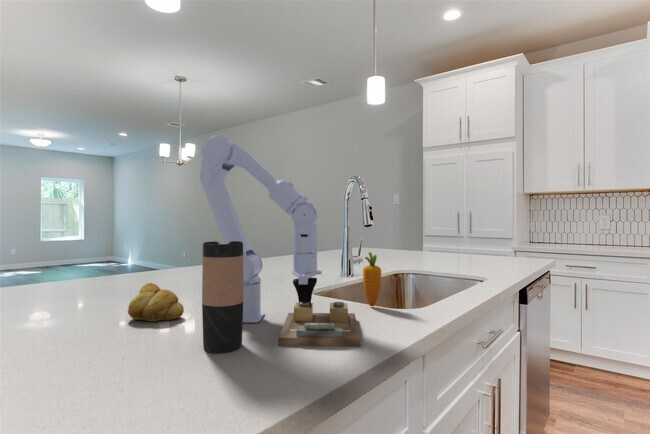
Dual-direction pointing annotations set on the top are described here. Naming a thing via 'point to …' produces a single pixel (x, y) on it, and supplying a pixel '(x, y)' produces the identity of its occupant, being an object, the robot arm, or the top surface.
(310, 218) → the robot arm
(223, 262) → the travel mug
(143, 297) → the bread roll
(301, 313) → the slide
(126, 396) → the top surface
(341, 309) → the slide
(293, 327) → the base
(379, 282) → the carrot
